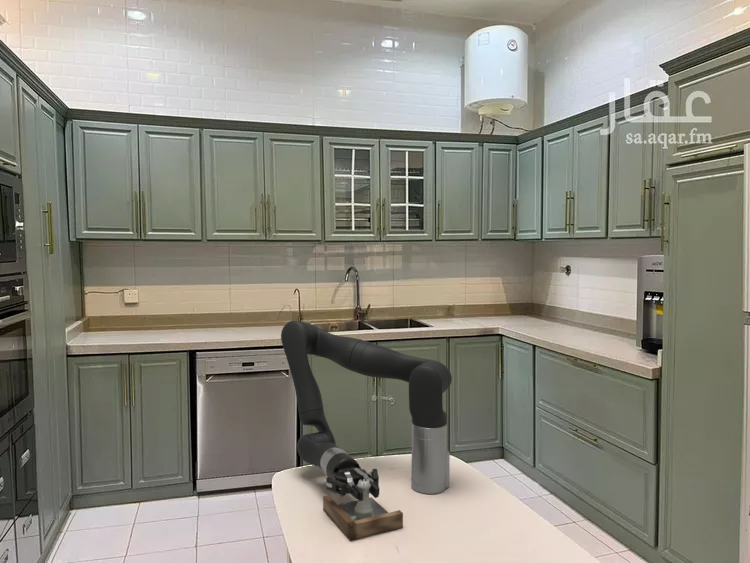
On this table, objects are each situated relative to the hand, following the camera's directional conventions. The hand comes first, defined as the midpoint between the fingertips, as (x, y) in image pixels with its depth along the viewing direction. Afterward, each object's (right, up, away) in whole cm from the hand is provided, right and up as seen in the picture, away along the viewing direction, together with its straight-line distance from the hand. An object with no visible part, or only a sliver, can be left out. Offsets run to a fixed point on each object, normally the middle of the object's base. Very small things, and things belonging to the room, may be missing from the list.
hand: (369, 494), depth 122 cm
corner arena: (-2, -8, +5) cm, 10 cm away
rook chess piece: (-1, -6, +3) cm, 7 cm away
